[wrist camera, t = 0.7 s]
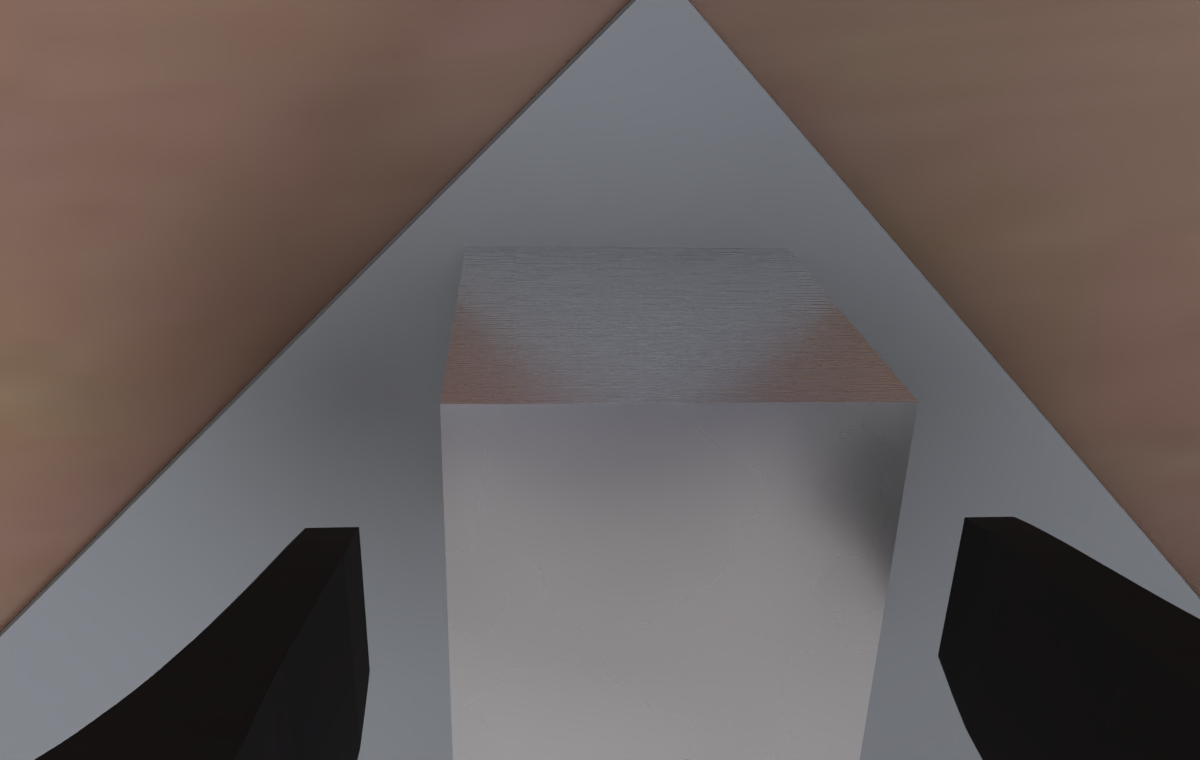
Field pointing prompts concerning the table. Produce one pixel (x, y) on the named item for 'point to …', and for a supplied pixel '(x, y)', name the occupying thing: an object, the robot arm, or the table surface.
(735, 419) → the brushed metal cube
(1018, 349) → the table surface
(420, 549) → the mat
